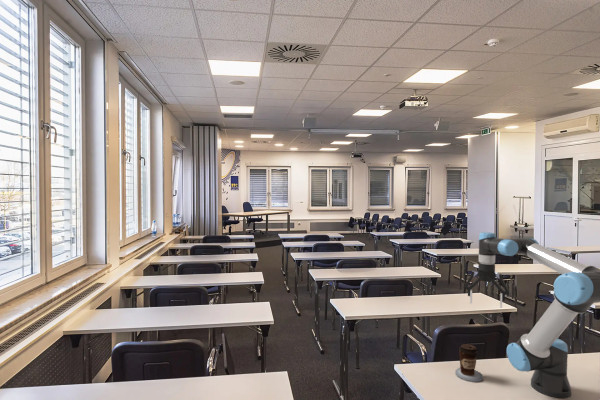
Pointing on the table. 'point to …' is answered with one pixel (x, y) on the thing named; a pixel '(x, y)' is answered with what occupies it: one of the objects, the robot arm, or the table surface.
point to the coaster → (474, 378)
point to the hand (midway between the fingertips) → (485, 304)
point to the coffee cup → (468, 359)
